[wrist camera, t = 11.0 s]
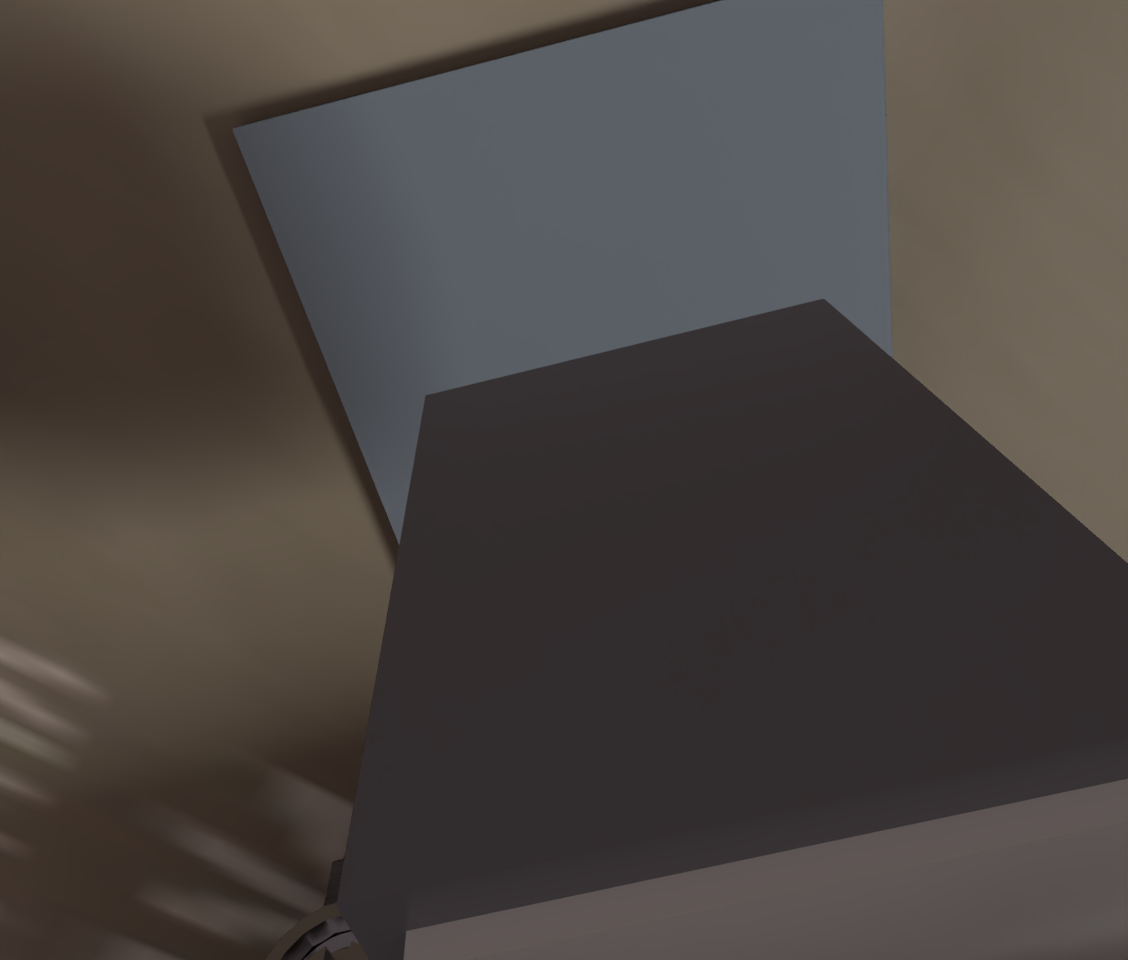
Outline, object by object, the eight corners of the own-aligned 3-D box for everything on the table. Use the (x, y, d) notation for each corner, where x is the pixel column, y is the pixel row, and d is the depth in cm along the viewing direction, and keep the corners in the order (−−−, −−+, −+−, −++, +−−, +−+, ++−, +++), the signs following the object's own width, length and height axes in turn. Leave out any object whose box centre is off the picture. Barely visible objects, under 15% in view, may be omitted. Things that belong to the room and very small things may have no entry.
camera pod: (823, 299, 9) (1328, 737, 4) (855, 778, 13) (1114, 1324, 8) (425, 394, 9) (328, 948, 4) (578, 837, 13) (637, 1409, 8)
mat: (872, -40, 13) (881, -42, 13) (891, 576, 20) (898, 586, 20) (238, 126, 14) (231, 129, 14) (455, 672, 20) (454, 683, 20)
